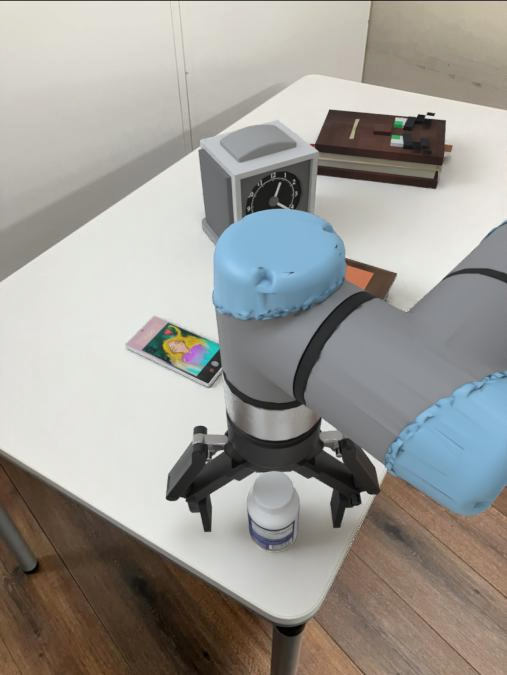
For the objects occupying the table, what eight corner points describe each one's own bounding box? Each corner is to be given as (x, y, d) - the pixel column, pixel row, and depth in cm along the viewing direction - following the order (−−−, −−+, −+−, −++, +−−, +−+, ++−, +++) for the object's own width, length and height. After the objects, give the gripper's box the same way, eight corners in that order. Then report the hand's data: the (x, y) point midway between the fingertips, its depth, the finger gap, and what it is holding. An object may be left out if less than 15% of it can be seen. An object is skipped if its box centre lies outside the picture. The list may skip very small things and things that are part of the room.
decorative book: (320, 102, 115) (458, 114, 109) (317, 134, 121) (449, 148, 115) (302, 141, 102) (458, 157, 96) (300, 175, 108) (447, 193, 102)
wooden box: (391, 297, 82) (397, 272, 78) (342, 389, 69) (347, 364, 66) (316, 273, 86) (318, 248, 82) (257, 355, 74) (256, 330, 70)
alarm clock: (230, 265, 88) (223, 167, 75) (200, 226, 96) (188, 131, 83) (320, 234, 94) (328, 137, 80) (284, 199, 102) (286, 107, 88)
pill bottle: (261, 498, 59) (260, 455, 52) (304, 517, 57) (309, 475, 50) (240, 540, 56) (235, 500, 49) (285, 562, 54) (287, 524, 47)
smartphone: (208, 385, 69) (123, 345, 75) (209, 388, 70) (124, 348, 75) (236, 351, 74) (154, 315, 79) (236, 354, 74) (154, 318, 79)
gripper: (424, 359, 42) (381, 481, 57) (118, 368, 42) (158, 488, 57) (451, 439, 37) (395, 549, 52) (102, 449, 36) (151, 556, 52)
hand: (271, 517), depth 55 cm, fingers open, 13 cm apart
